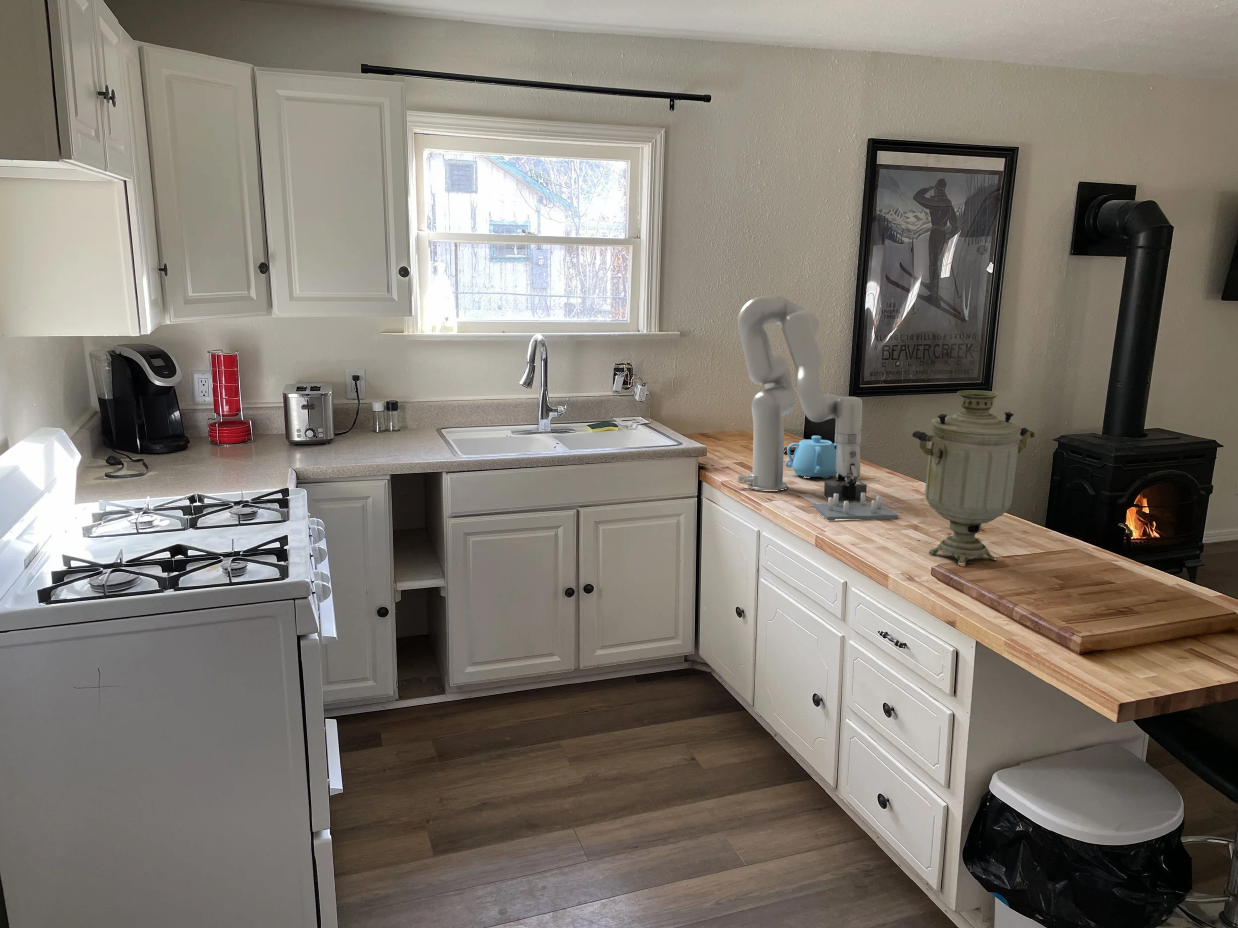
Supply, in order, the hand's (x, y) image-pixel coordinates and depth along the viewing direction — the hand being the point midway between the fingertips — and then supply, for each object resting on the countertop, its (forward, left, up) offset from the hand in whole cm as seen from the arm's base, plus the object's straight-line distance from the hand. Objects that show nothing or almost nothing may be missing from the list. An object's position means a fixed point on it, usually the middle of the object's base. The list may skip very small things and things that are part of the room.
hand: (845, 495), depth 277 cm
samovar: (+10, -56, -1) cm, 57 cm away
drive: (0, 0, -1) cm, 1 cm away
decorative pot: (0, +31, -1) cm, 31 cm away
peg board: (-3, -17, -1) cm, 17 cm away
